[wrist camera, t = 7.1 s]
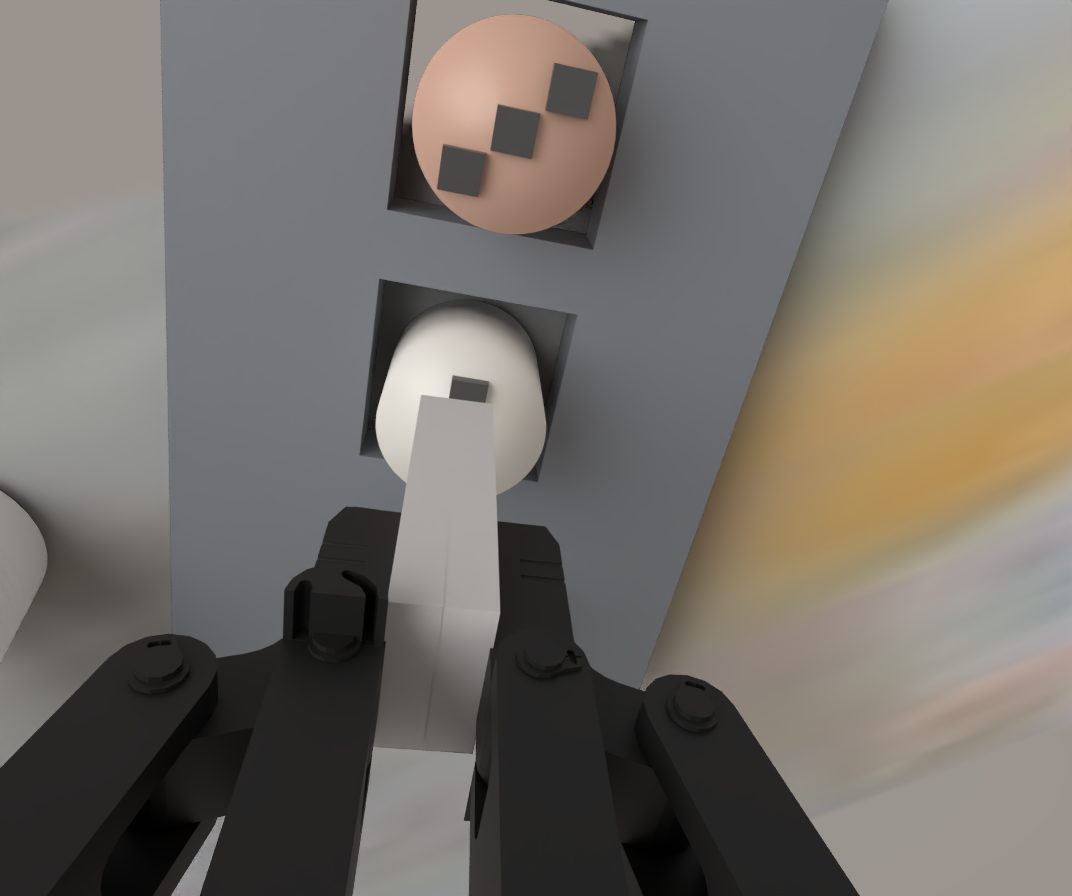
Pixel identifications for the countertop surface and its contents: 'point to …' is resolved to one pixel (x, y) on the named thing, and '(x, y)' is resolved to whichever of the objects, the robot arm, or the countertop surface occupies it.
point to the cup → (18, 567)
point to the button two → (466, 383)
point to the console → (474, 288)
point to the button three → (514, 124)
